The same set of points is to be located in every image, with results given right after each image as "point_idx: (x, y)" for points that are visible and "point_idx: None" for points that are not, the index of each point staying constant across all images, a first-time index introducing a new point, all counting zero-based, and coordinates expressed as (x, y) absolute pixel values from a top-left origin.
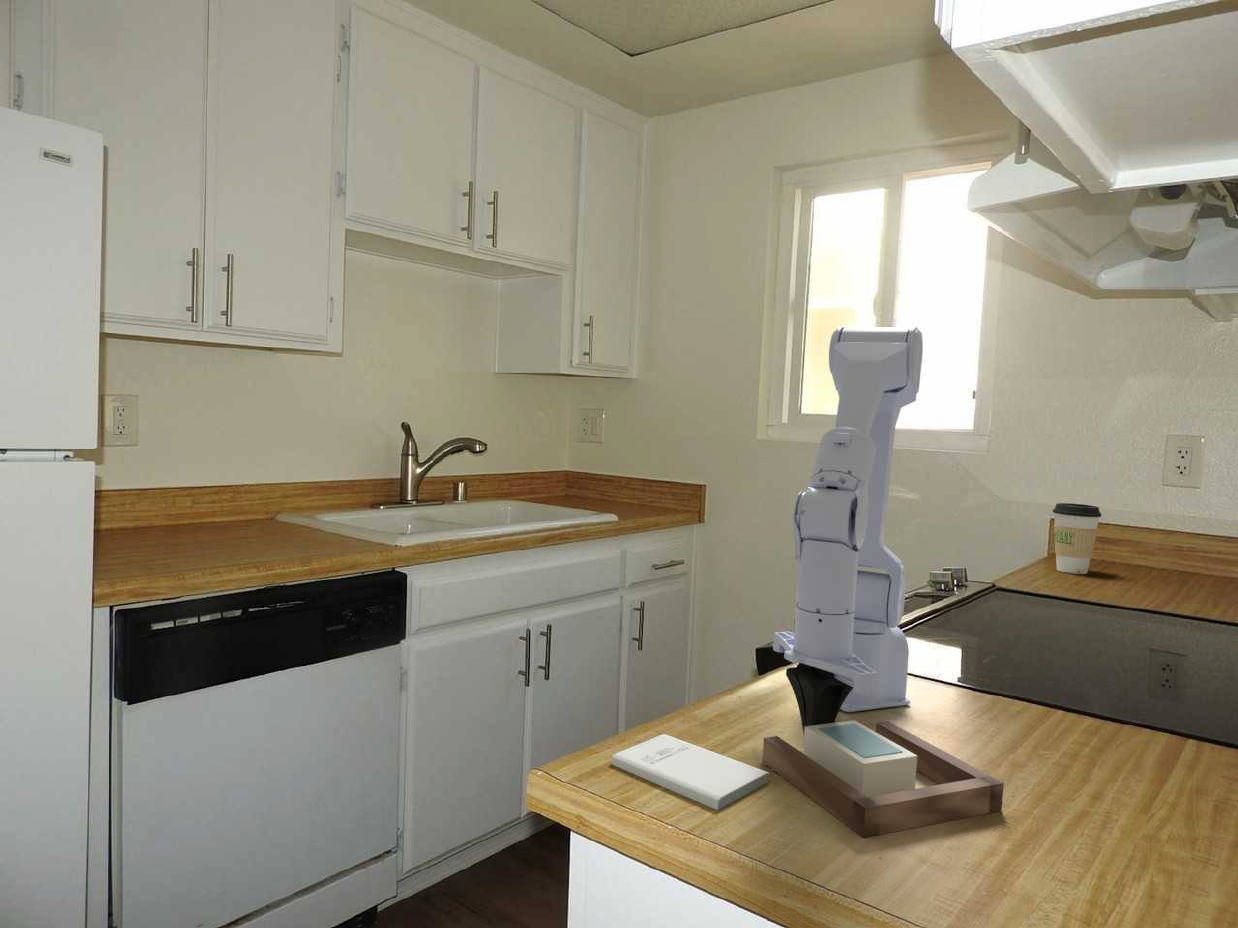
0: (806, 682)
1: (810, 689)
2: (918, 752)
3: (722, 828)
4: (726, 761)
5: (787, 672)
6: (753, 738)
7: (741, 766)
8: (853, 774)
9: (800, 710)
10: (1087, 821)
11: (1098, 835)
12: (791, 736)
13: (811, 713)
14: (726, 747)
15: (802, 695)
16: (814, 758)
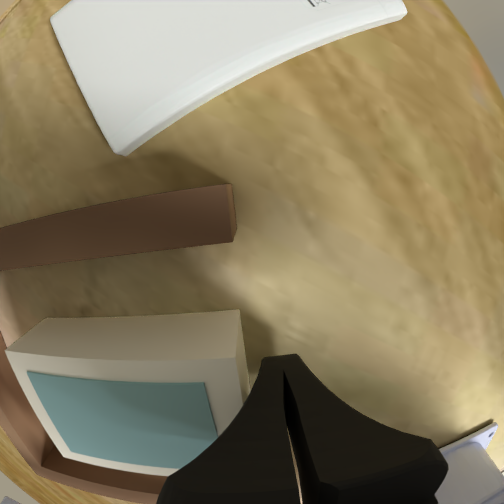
0: (202, 492)
1: (199, 473)
2: (147, 483)
3: (17, 30)
4: (200, 57)
5: (414, 458)
6: (390, 238)
7: (158, 85)
8: (46, 335)
9: (320, 390)
10: (51, 484)
11: (28, 469)
12: (371, 341)
13: (247, 407)
14: (352, 132)
15: (304, 433)
16: (186, 322)
